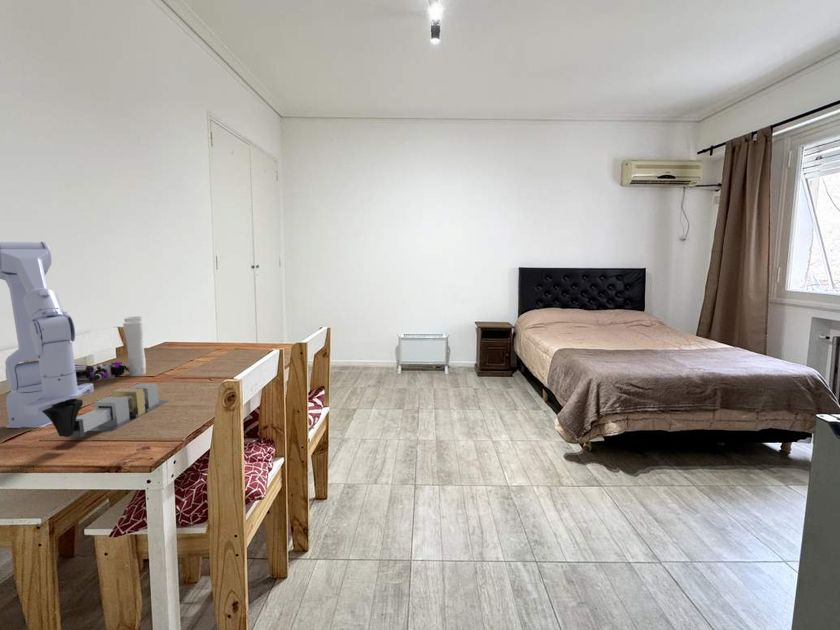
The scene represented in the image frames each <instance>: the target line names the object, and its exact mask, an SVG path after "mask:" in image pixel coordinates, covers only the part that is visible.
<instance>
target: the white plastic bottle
mask: <svg viewBox="0 0 840 630" xmlns="http://www.w3.org/2000/svg"><path fill="white" fill-rule="evenodd" d="M123 320H124V321H123V323H122V325H123V333H124V337H125V340H126V348H127V349H126V352H127V359H128V370H129V372H130V373H129V372H128V373H129V374H130V376H129V377H140V376H144V375H146V373H147V372H146V371H147V370H146V369H147V364H146V363H147V359H146V354H145V345H144V343H145V342H144V341H145V340H144V338H143V337H144V322H143V316H139V315H137V316H127V317H124V319H123Z"/></svg>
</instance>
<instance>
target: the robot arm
mask: <svg viewBox="0 0 840 630" xmlns="http://www.w3.org/2000/svg"><path fill="white" fill-rule="evenodd" d="M51 265H52V252H51V249H50V246H49V244H47V243H46V241H38V242H37V241H36V242H35V241H33V242H32V241H30V242H29V241H27V242H26V241H24V242H23V241H17V242H16V241H11V242H10V241H0V280H3V281H5V283H6V284H7V287H8V289H9V293H10V300H11V306H12V315H13V319H14V325H15V332H16V338H17V339H16V340H17V345H18V349H17V350H15V351H14V352H13V353H12V354H10V355H8V357H6V359H5V361H4V363H5V378H6V382H7V386H8V388H9V389H10V390H11V391H9V393H8V394H7V395H6V400H5V405H6V411H7V419H8V424H7V425H5V428H6V429H7V428H8V429H10V428H11V429H20V428H43V427H46V426H48V425H51V424H53V426H54V428H55V430H56V431H57V434H58V436H59V437H61V438H62V437H64V438H70V437H69V436H71V435H73V431H74V426H75V421H76V418H77V417H78V414H79V412H80V410H81V408H82V407H83V403H84V402H83V399H79V398H81V397H82V396H84V395H86V394H92V393H94V392H95V389H94V383H87V382H86V383H81V384H80V385H79V384H78V383H77V382H78V380H77V379H76V371H75V365H76V363H75V357H74V355H75V354H74V349H73V348H74V347H73V343H72V342H75V339H76V330H75V329H76V328H75V324H74V321H73V318H72V316H71V315H70V314H69V313H68V312H67V311H64V309H63V306H62V304H61V302H60V299H59V298H60V297H58V294H57V292H55V291H54V290H52V289H50V288H49V287H48V286H49V285H48V284H47V283H48V282H47V278H46V275H47V273H48V271H49V270H50V267H51Z"/></svg>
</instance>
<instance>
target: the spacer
mask: <svg viewBox="0 0 840 630" xmlns="http://www.w3.org/2000/svg"><path fill="white" fill-rule="evenodd" d="M111 394H112V396H111V397H124V396H132V401H133V409H131V410H129V414H138V416H140V415H142V414H144V413H145V403H144V399H145V395H144V391H143V389H132V388H129V387H127V388H124V387H120V388H119V387H118V388H116V389H114V390H112V391H111ZM144 415H145V414H144ZM142 416H143V415H142ZM140 417H141V416H140Z"/></svg>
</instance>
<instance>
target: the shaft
mask: <svg viewBox="0 0 840 630" xmlns="http://www.w3.org/2000/svg"><path fill="white" fill-rule="evenodd" d="M124 397H127V398H128V407H129V410H131V409H133V401H132V396H124ZM111 419H113V412H112V406H101V407H99V408H97V409H95V408H94V409H92V410H90V411H88V412H85V413H84V414H81V415H79V416H77V418H76V421H75V426H74V431H73V435H71V436H69V437H68V438H79V439H80V438H83V437H85V433H87V432H89V431H88V430H90V429H92V428H94V427H97V426H99V425H101V424H103V423H105V422H107V421H109V420H111Z"/></svg>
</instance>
